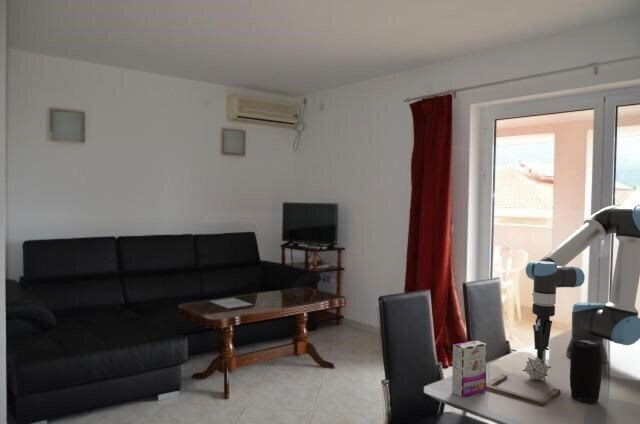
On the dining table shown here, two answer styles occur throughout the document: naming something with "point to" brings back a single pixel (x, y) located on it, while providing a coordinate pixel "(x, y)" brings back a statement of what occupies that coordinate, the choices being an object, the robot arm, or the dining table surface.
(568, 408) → the dining table surface
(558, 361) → the dining table surface
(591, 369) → the portable speaker
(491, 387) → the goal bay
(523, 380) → the dining table surface
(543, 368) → the game die
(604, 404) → the dining table surface
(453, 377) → the candy bar box
